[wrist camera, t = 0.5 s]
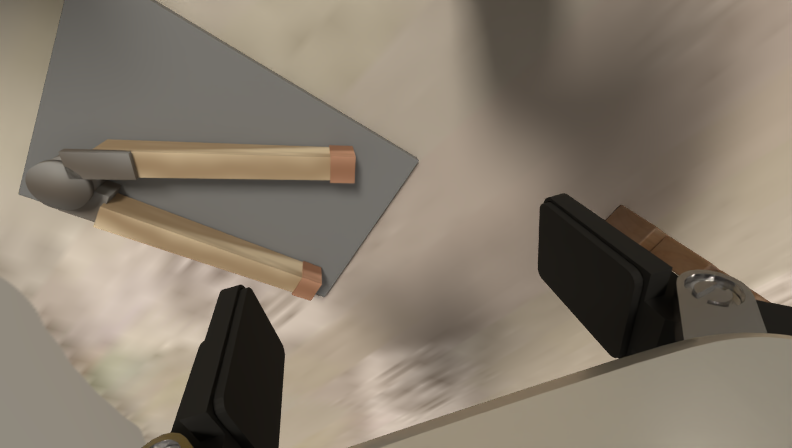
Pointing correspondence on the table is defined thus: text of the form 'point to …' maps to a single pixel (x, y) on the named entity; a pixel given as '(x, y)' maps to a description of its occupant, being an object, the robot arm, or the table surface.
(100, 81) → the mat
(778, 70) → the table surface
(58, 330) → the table surface
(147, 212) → the tongs fixed
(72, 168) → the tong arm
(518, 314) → the table surface
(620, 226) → the wooden toy
